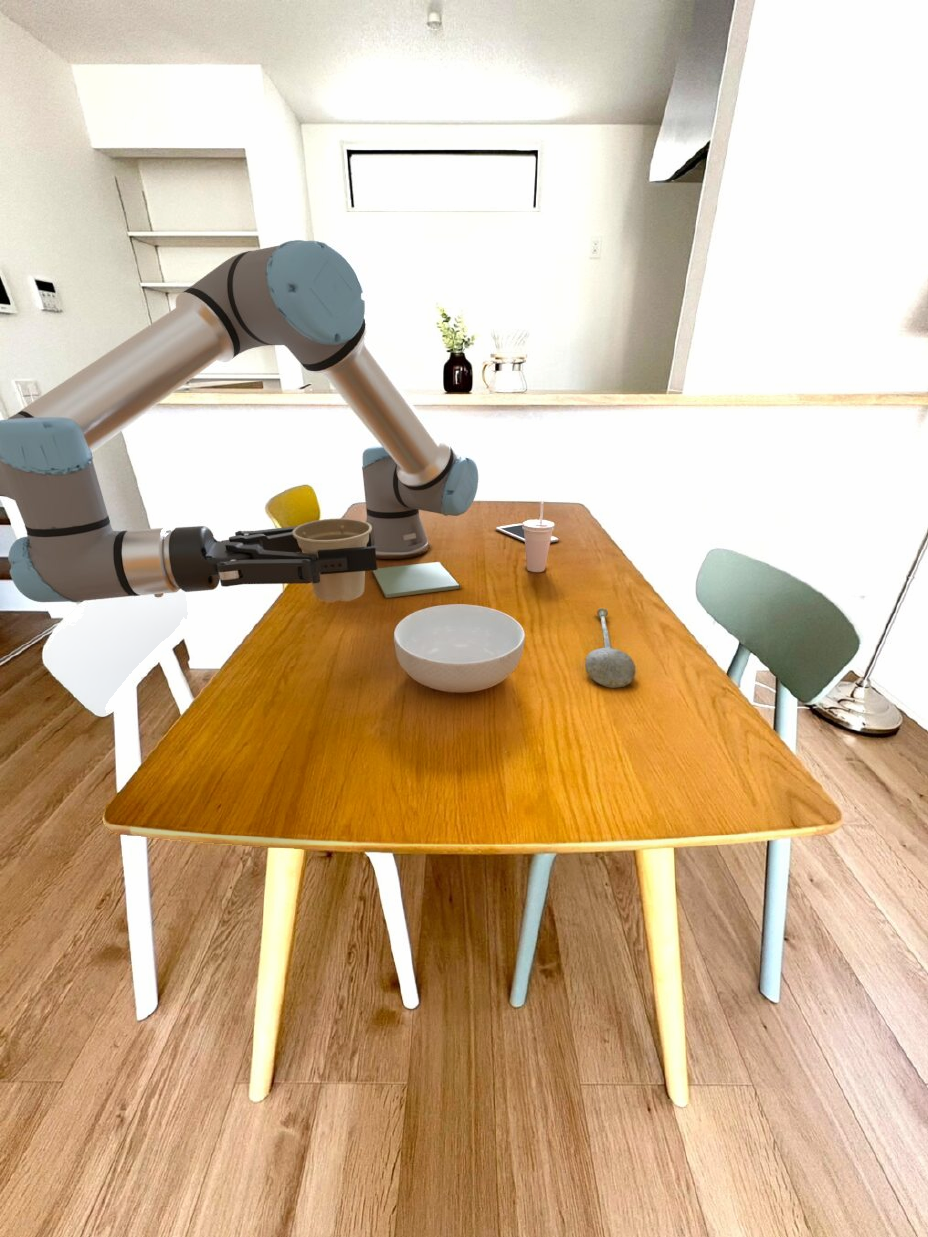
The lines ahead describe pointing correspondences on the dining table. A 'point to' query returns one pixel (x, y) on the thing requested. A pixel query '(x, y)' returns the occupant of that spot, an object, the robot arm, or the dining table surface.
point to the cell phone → (517, 532)
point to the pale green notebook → (414, 579)
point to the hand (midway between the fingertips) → (372, 546)
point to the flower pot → (335, 537)
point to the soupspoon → (609, 661)
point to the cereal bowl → (459, 647)
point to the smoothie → (537, 542)
